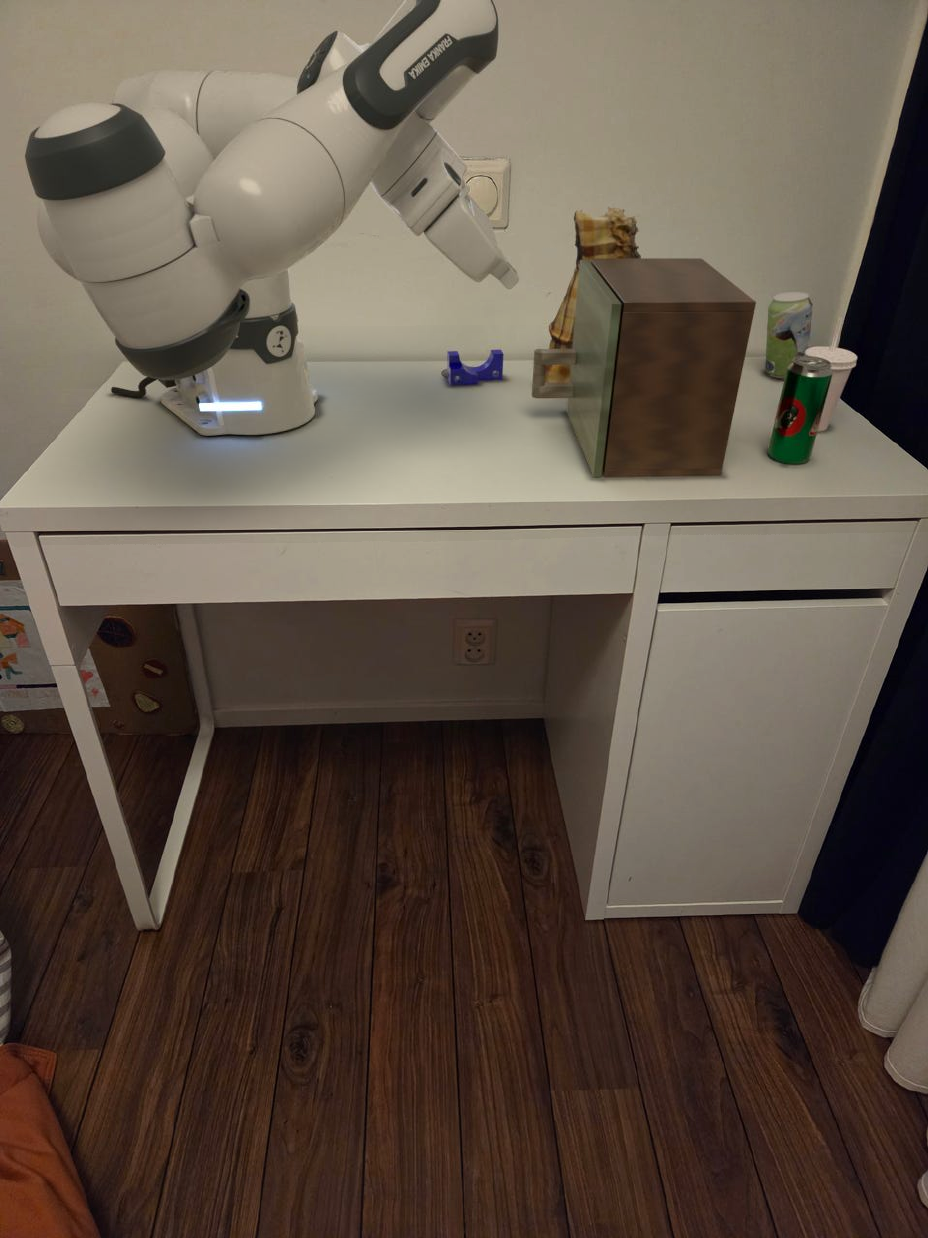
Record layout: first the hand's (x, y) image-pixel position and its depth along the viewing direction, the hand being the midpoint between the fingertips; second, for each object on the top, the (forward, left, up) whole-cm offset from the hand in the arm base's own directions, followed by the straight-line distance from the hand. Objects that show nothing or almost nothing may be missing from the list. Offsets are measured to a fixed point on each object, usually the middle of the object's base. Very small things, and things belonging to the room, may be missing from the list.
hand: (513, 281), depth 97 cm
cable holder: (-17, +14, -19) cm, 29 cm away
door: (+6, +4, -19) cm, 20 cm away
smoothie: (+27, +32, -19) cm, 46 cm away
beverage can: (+15, +48, -19) cm, 54 cm away
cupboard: (+13, +11, -19) cm, 26 cm away
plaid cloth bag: (-5, +25, -19) cm, 32 cm away
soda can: (+29, +20, -19) cm, 40 cm away
